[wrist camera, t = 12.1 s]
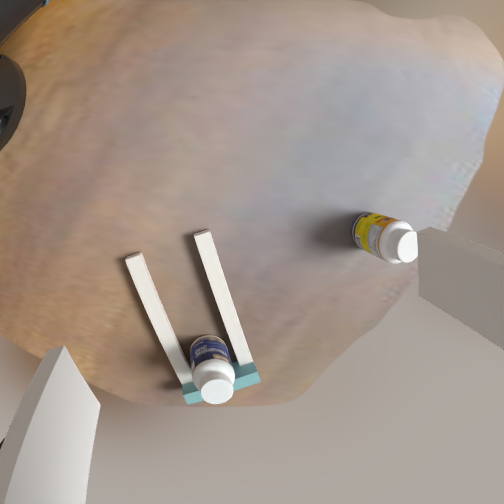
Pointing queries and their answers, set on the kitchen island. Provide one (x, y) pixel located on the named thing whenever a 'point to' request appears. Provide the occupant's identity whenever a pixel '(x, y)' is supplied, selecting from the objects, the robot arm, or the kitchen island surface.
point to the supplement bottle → (385, 238)
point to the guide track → (166, 335)
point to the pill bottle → (212, 369)
